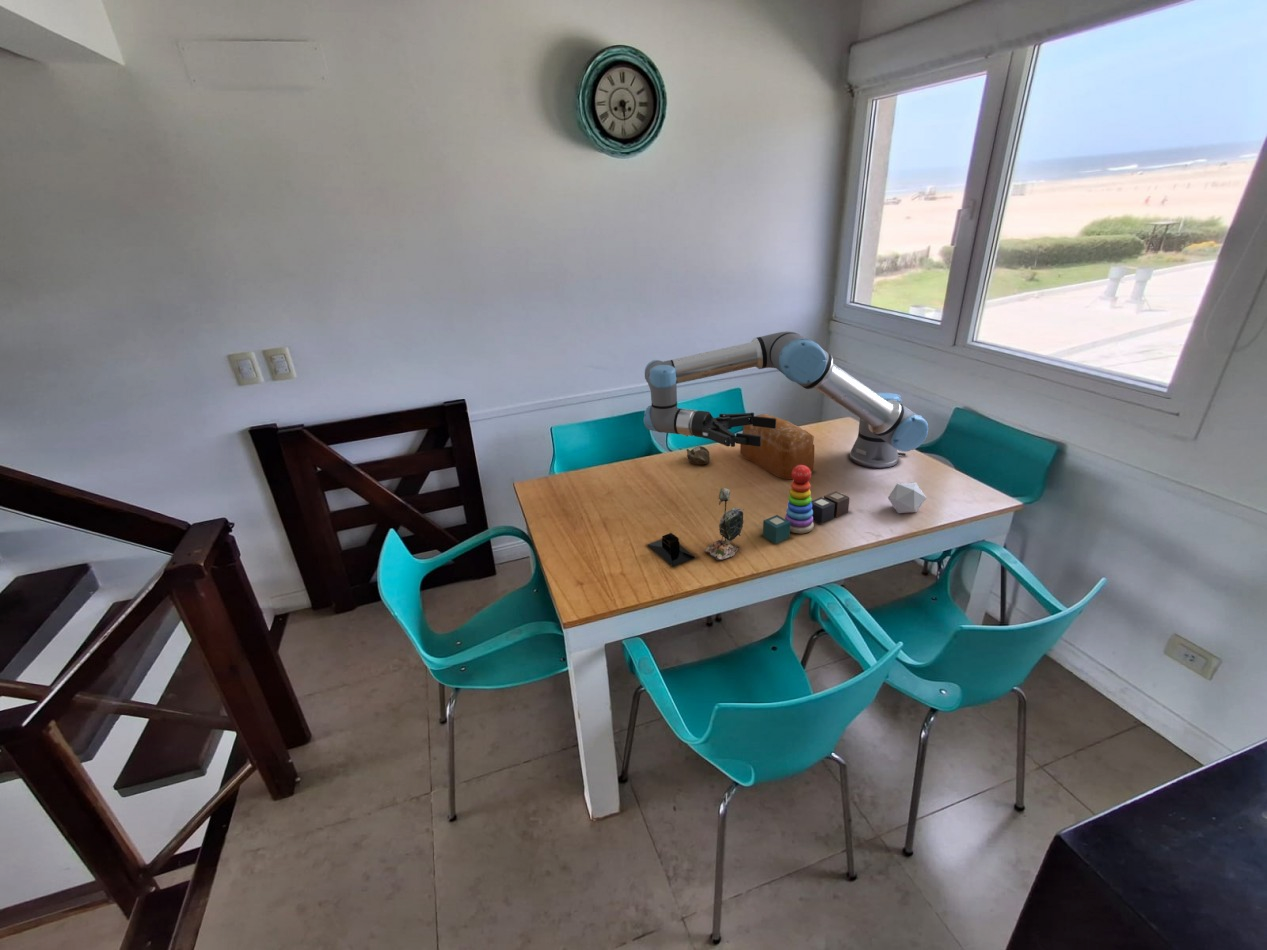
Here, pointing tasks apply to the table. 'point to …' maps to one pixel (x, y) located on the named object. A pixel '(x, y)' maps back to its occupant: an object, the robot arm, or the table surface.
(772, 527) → the teal block
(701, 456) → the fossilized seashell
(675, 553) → the build plate
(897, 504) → the die
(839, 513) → the walnut block
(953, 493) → the table surface
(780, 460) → the bread
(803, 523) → the stacking toy
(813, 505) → the charcoal block
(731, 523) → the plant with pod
